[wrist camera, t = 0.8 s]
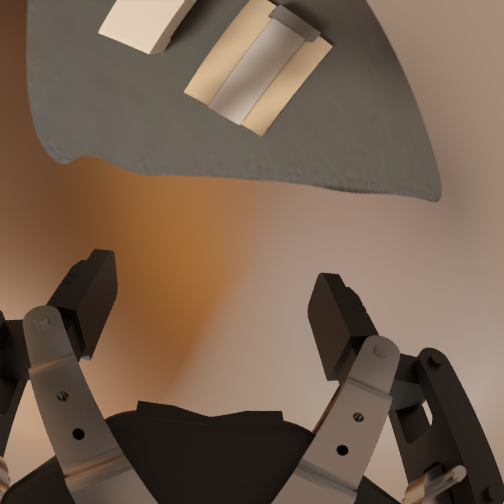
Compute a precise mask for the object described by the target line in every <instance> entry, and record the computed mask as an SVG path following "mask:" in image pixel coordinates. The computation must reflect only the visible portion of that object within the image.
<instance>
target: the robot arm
mask: <svg viewBox="0 0 504 504" xmlns="http://www.w3.org/2000/svg"><path fill="white" fill-rule="evenodd" d="M117 290H118V284H117V274H116V263H115V254H114V252H113V251H110V250H101V249H94V250H93V252H92V253H91V255H90V256H89V258H88V259H87V260H81V261H80V262H78V263H77V264H75V265H74V266H72V268H71V269H70V270H69V272H68V273H67V276H66V277H65V278H64V279H63V280H62V283H60V285H59V286H58V288H57V289H56V291H55V292H54V294H53V295H52V297H51V298H50V300H49V301H48V303H47V304H46V305H43V306H38V307H35V308H33V309H31V310H30V311H29V312H28V313H27V314H26V315H25V317H24V319H23V320H5V318H4V315H3V313H2V312H1V311H0V504H503V502H504V484H503V481H502V478H501V476H500V472H499V469H498V467H497V464H496V461H495V459H494V456H493V453H492V451H491V448H490V446H489V443H488V441H487V439H486V436H485V434H484V432H483V429H482V427H481V425H480V422H479V420H478V418H477V416H476V414H475V411H474V409H473V407H472V405H471V403H470V401H469V399H468V397H467V395H466V393H465V391H464V389H463V387H462V385H461V383H460V381H459V379H458V377H457V375H456V373H455V371H454V369H453V368H452V366H451V364H450V362H449V360H448V359H447V357H446V356H445V355H444V354H443V353H442V352H440V351H438V350H437V349H434V348H425V349H423V350H422V351H421V352H420V353H419V355H418V356H417V357H414V356H410V355H405V354H401V353H400V351H399V349H398V347H397V346H396V345H395V343H393V342H392V341H391V340H389V339H387V338H385V337H383V336H379V334H378V332H377V330H376V328H375V327H374V324H373V323H372V321H371V319H370V317H369V315H368V314H367V313H366V309H365V307H364V306H363V304H362V302H361V300H360V298H359V296H358V295H357V294H356V293H355V292H354V291H353V290H352V289H351V288H350V287H346V286H345V284H344V283H343V281H342V279H341V277H340V276H339V274H331V273H320V274H319V275H318V278H317V280H316V283H315V286H314V290H313V292H312V295H311V299H310V301H309V305H308V319H309V322H310V325H311V328H312V331H313V335H314V338H315V342H316V345H317V348H318V351H319V355H320V358H321V361H322V365H323V368H324V372H325V375H326V378H327V381H333V380H338V381H339V384H340V385H339V387H338V388H337V390H336V392H335V394H334V395H333V397H332V399H331V401H330V402H329V404H328V406H327V408H326V409H325V411H324V413H323V415H322V416H321V418H320V420H319V421H318V423H317V425H316V426H315V428H314V429H313V431H312V432H311V431H309V430H307V429H305V428H304V427H301V426H299V425H297V424H294V423H291V422H287V421H283V414H282V411H244V412H238V413H233V414H227V415H221V416H215V417H208V416H204V415H201V414H198V413H194V412H191V411H188V410H185V409H182V408H179V407H176V406H172V405H165V404H157V403H150V402H144V401H138V405H137V410H134V411H126V412H122V413H119V414H115V415H113V416H110V417H108V418H106V419H104V418H103V416H102V414H101V412H100V410H99V408H98V406H97V404H96V402H95V400H94V398H93V396H92V393H91V391H90V389H89V387H88V385H87V383H86V380H85V378H84V376H83V373H82V371H81V369H80V366H79V364H78V363H79V361H80V358H82V359H86V360H91V358H92V355H93V353H94V350H95V348H96V345H97V343H98V340H99V338H100V335H101V333H102V330H103V328H104V325H105V323H106V320H107V318H108V316H109V313H110V311H111V309H112V306H113V304H114V302H115V300H116V296H117ZM28 380H31V383H32V387H33V391H34V394H35V398H36V401H37V405H38V408H39V411H40V414H41V417H42V420H43V423H44V426H45V429H46V432H47V434H48V437H49V440H50V442H51V445H52V447H53V449H54V452H55V456H53V457H52V458H51V459H49V460H48V461H46V462H45V463H44V464H42V465H41V466H39V467H38V468H37V469H35V470H34V471H32V472H31V473H29V474H28V475H27V476H25V477H24V478H22V479H21V480H19V481H18V482H16V483H15V484H13V485H12V486H11V487H9V485H10V478H9V476H8V468H7V465H6V463H5V461H4V460H3V456H4V453H5V449H6V445H7V441H8V437H9V434H10V431H11V427H12V424H13V421H14V417H15V414H16V412H17V408H18V405H19V403H20V400H21V397H22V394H23V391H24V389H25V386H26V383H27V381H28ZM425 400H426V401H427V403H428V406H429V408H430V411H431V413H432V418H433V419H432V424H431V426H430V424H429V421H428V419H427V416H426V413H425V411H424V408H423V406H422V404H423V403H424V402H425ZM387 414H388V415H389V418H390V421H391V425H392V428H393V431H394V434H395V437H396V441H397V444H398V447H399V451H400V455H401V458H402V462H403V466H404V469H405V473H406V477H407V480H408V487H407V488H406V491H405V496H404V498H403V500H402V503H400V502H398V501H397V500H396V499H394V498H393V497H391V496H390V495H389V494H387V493H386V492H385V491H384V490H382V489H381V488H380V487H378V486H377V485H376V484H374V483H373V482H372V481H370V480H369V479H368V478H367V477H365V476H364V475H363V474H364V472H365V470H366V468H367V465H368V463H369V461H370V458H371V456H372V454H373V452H374V449H375V446H376V444H377V442H378V439H379V437H380V433H381V431H382V429H383V426H384V423H385V420H386V417H387Z"/></svg>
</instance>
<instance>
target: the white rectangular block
mask: <svg viewBox="0 0 504 504" xmlns="http://www.w3.org/2000/svg"><path fill="white" fill-rule="evenodd" d="M196 1H197V0H117V1H116V3H115V4H114V6H113V8H112V9H111V11H110V13H109V14H108V16H107V18H106V19H105V21H104V23H103V25H102V26H101V28H100V30H99V32H98V33H99V34H102V35H105V36H107V37H110V38H112V39H115V40H117V41H120V42H122V43H124V44H127V45H129V46H132V47H134V48H136V49H138V50H141V51H143V52H145V53H147V54H154V53H161V52H164V50H165V49H166V47H167V46H168V44H169V42H170V41H171V39H170V38H171V36H172V35H173V33H174V32H175V30H176V29H177V27H178V26H179V24H180V23H181V21H182V20H183V19H184V17H185V16H186V14H187V13H188V12H189V10H190V9H191V8H192V6H193V5H194V4H195V2H196Z"/></svg>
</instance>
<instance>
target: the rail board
mask: <svg viewBox="0 0 504 504" xmlns="http://www.w3.org/2000/svg"><path fill="white" fill-rule="evenodd" d="M320 34H321V33H320V32H319V31H317V30H316V29H315V28H313V27H312V26H311V25H309V24H308V23H307V22H305V21H304V20H302V19H301V18H299V17H298V16H297V15H295V14H294V13H292V12H291V11H289V10H288V9H286V8H285V7H283V6H282V5H278V6H276V5H274V4H272V3H271V2H269V1H267V0H250V1H249V2H248V3H247V4H246V6H245V7H244V8H243V9H242V10H241V12H240V13H239V14H238V15H237V17H236V18H235V19H234V21H233V22H232V23H231V24H230V26H229V27H228V28H227V30H226V31H225V32H224V34H223V35H222V36H221V38H220V39H219V40H218V42H217V43H216V45H215V46H214V47H213V49H212V50H211V52H210V53H209V55H208V56H207V57H206V59H205V60H204V62H203V63H202V65H201V66H200V68H199V69H198V71H197V72H196V74H195V75H194V77H193V78H192V80H191V81H190V83H189V85H188V86H187V88H186V89H185V91H184V93H186V94H188V95H190V96H192V97H194V98H196V99H198V100H200V101H201V102H203V103H205V104H207V105H208V108H210V109H212V110H214V111H215V112H217V113H219V114H221V115H223V116H224V117H226V118H228V119H230V120H231V121H233V122H235V123H236V124H238V125H240V124H242V125H244V126H245V127H247V128H249V129H250V130H252V131H254V132H255V133H257V134H258V135H260V136H262V135H263V134H264V133H265V131H266V130H267V129H268V127H269V126H270V125H271V123H272V122H273V121H274V119H275V118H276V117H277V116H278V114H279V113H280V112H281V110H282V109H283V108H284V106H285V105H286V104H287V103H288V101H289V100H290V99H291V97H292V96H293V95H294V94H295V92H296V91H297V90H298V89H299V87H300V86H301V85H302V83H303V82H304V81H305V80H306V78H307V77H308V76H309V75H310V74H311V72H312V71H313V70H314V69H315V67H316V66H317V65H318V64H319V63H320V61H321V60H322V59H323V58H324V56H325V55H326V54H327V53H328V52H329V50H330V49H331V48H332V47H333V46H332V45H330V44H329V43H328V42H327V41H325V40H324V39H323V38H321V37H320V36H319V35H320Z"/></svg>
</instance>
